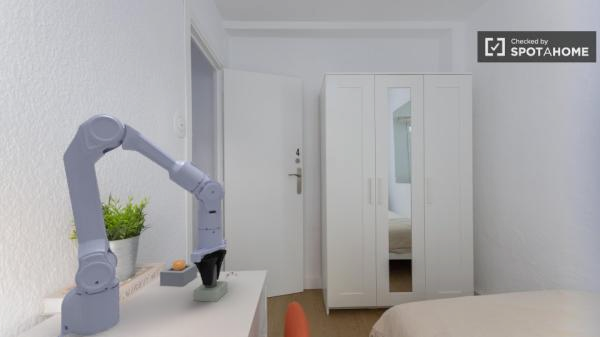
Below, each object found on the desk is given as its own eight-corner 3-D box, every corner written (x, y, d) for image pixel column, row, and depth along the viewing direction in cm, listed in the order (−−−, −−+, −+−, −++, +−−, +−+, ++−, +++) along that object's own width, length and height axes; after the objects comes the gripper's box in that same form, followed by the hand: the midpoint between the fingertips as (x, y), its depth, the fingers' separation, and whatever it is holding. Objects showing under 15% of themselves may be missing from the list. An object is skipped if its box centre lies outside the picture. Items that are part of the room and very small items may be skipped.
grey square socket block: (160, 290, 74) (160, 272, 74) (175, 280, 81) (175, 263, 81) (183, 291, 73) (183, 272, 73) (197, 281, 80) (196, 264, 80)
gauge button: (170, 276, 76) (170, 263, 76) (177, 272, 79) (177, 260, 79) (181, 276, 75) (180, 264, 76) (187, 272, 79) (187, 260, 79)
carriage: (193, 300, 65) (193, 269, 65) (206, 289, 71) (205, 261, 71) (216, 301, 64) (216, 270, 64) (227, 290, 70) (227, 262, 70)
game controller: (241, 283, 78) (241, 274, 78) (200, 288, 76) (200, 278, 76) (242, 276, 84) (242, 268, 84) (203, 280, 82) (203, 271, 82)
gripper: (210, 234, 60) (211, 295, 59) (236, 222, 74) (237, 272, 74) (181, 233, 61) (182, 294, 60) (212, 222, 75) (213, 271, 75)
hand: (210, 282), depth 67 cm, fingers closed on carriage, 3 cm apart
